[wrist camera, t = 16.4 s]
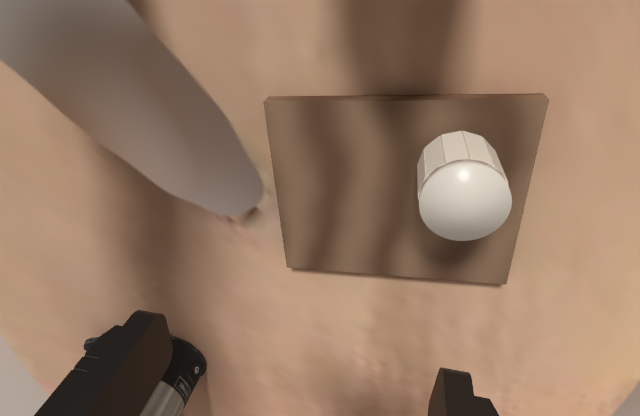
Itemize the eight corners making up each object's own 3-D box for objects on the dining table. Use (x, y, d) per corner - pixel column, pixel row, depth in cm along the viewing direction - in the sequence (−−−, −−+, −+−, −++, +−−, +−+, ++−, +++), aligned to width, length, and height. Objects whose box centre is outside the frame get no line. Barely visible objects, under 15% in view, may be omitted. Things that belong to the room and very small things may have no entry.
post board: (290, 258, 44) (270, 308, 38) (268, 96, 35) (237, 127, 29) (503, 274, 40) (519, 332, 34) (543, 93, 31) (576, 128, 24)
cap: (449, 211, 35) (455, 254, 30) (402, 164, 33) (401, 201, 28) (512, 169, 32) (531, 209, 27) (464, 116, 30) (474, 147, 25)
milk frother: (219, 371, 59) (168, 482, 46) (146, 387, 65) (84, 488, 53) (157, 304, 53) (80, 408, 41) (84, 328, 60) (-1, 425, 47)
